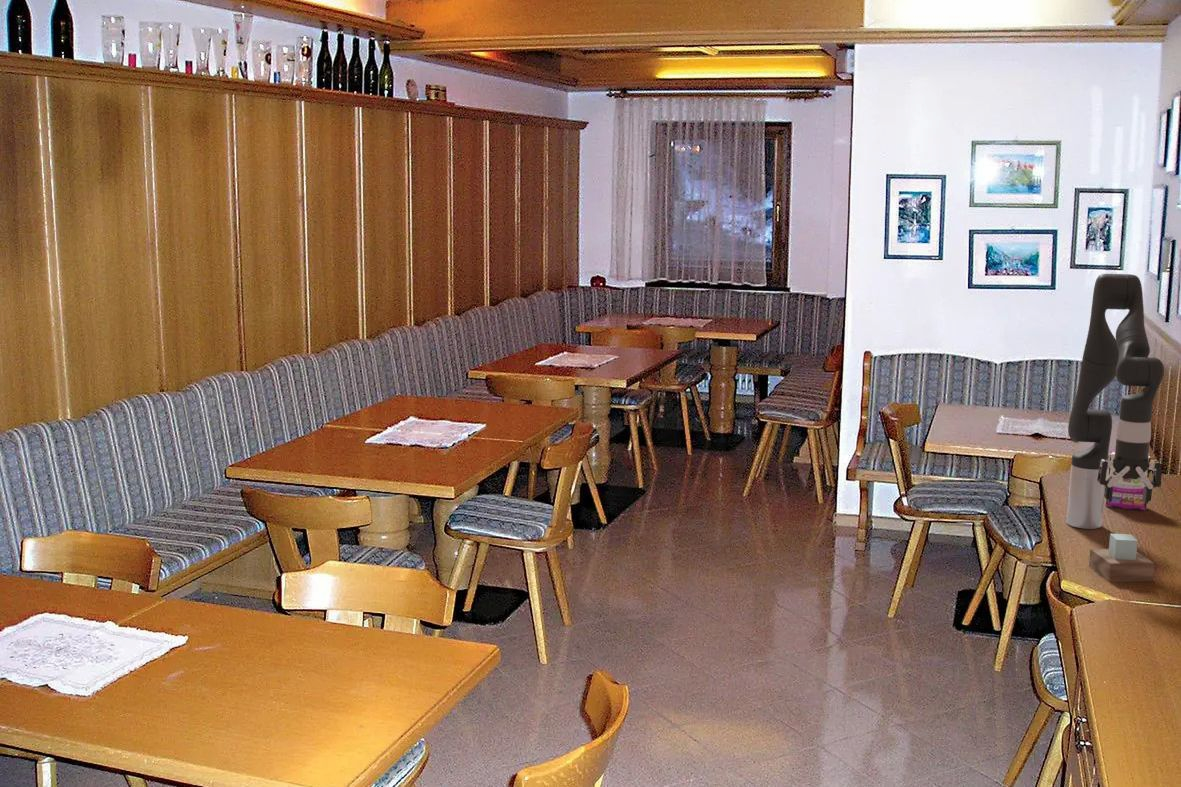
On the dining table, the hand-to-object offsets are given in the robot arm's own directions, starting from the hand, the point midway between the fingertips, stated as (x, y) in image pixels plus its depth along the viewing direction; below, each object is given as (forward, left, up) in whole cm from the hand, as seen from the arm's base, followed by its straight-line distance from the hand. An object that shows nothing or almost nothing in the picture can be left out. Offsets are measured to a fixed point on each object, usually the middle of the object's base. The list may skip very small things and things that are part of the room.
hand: (1127, 501), depth 296 cm
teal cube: (0, 0, -14) cm, 14 cm away
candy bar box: (-63, +18, -19) cm, 68 cm away
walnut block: (0, 0, -19) cm, 19 cm away
